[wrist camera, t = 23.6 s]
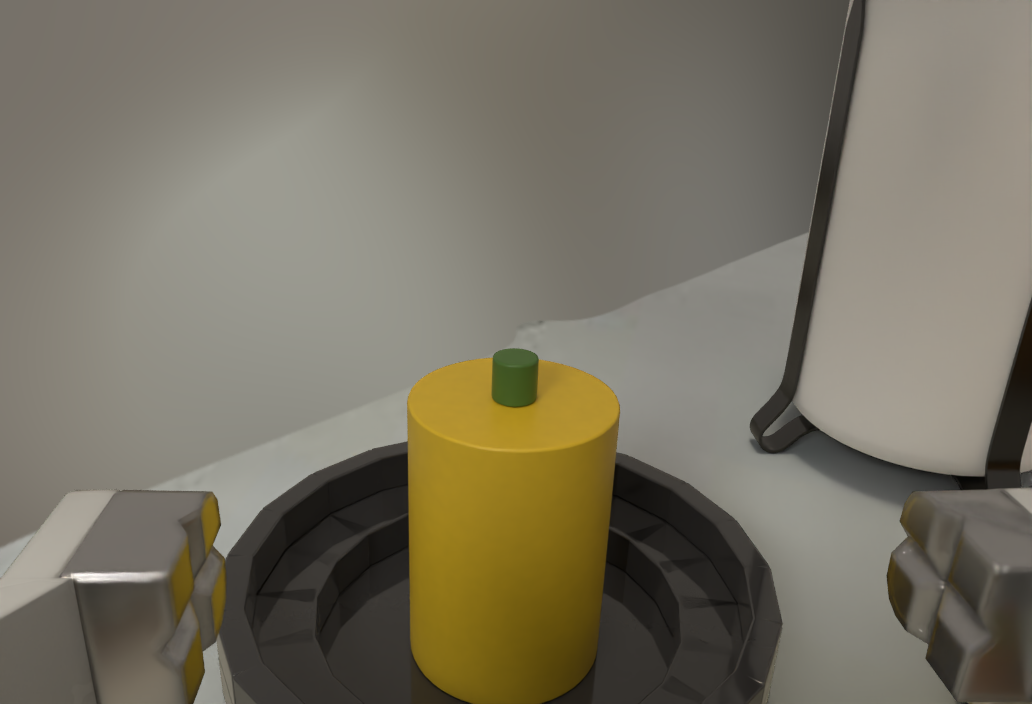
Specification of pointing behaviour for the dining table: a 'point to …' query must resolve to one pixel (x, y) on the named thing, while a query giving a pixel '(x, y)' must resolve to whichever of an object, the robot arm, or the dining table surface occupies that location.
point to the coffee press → (921, 247)
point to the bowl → (386, 597)
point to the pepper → (508, 525)
